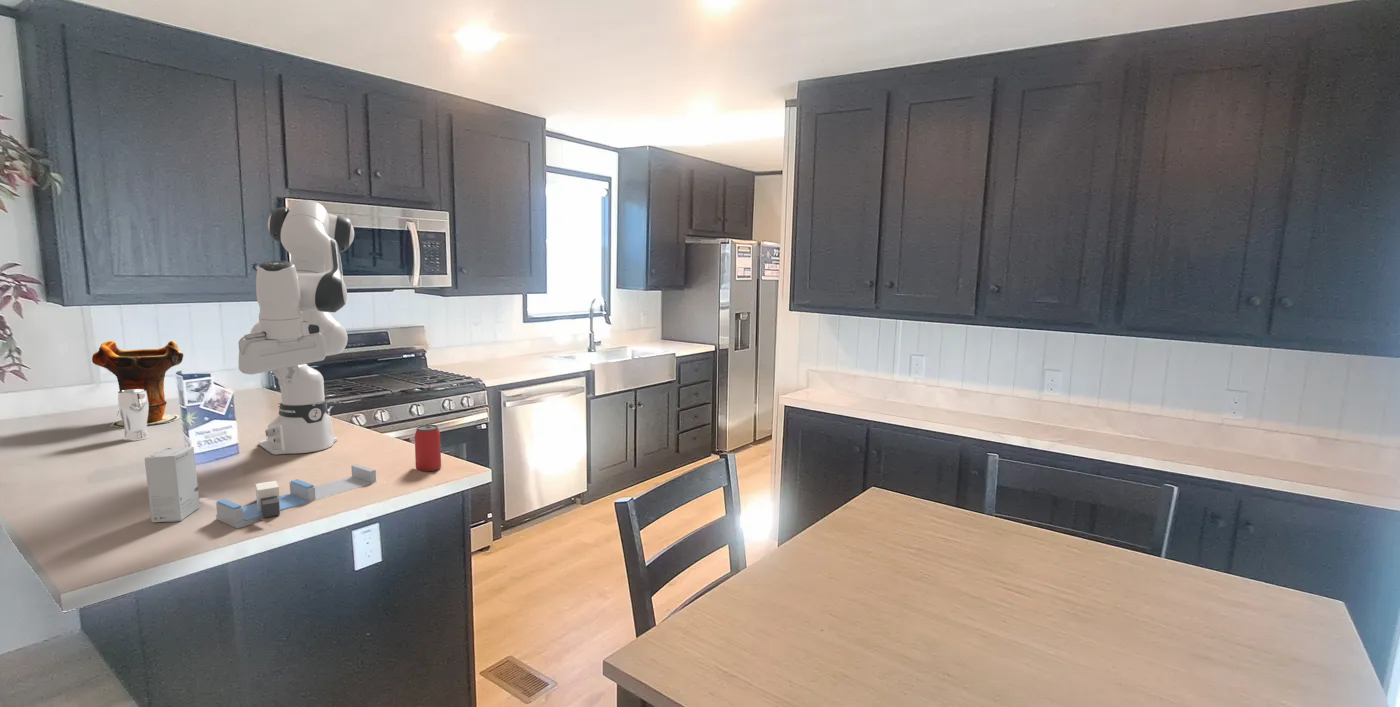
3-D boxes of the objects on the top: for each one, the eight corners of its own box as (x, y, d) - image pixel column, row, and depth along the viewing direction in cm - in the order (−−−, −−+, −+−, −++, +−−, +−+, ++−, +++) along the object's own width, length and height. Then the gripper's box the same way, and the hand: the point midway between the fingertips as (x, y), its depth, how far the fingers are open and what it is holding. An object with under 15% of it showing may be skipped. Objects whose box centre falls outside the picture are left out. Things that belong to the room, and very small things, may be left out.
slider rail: (216, 519, 143) (214, 499, 142) (356, 478, 171) (355, 462, 170) (237, 528, 138) (235, 508, 138) (377, 485, 166) (376, 468, 166)
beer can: (445, 465, 183) (444, 424, 181) (433, 473, 177) (432, 430, 175) (423, 464, 184) (422, 423, 182) (411, 471, 177) (409, 429, 175)
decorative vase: (198, 419, 220) (185, 339, 215) (107, 435, 204) (91, 348, 199) (187, 409, 234) (175, 333, 229) (101, 422, 218) (86, 341, 213)
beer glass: (155, 437, 200) (151, 390, 198) (126, 442, 194) (121, 394, 192) (146, 434, 204) (142, 387, 202) (118, 438, 198) (113, 391, 196)
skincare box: (181, 522, 141) (175, 456, 139) (149, 523, 139) (142, 457, 137) (201, 507, 149) (195, 445, 147) (171, 508, 148) (165, 446, 145)
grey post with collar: (255, 498, 152) (253, 478, 151) (275, 495, 154) (274, 475, 154) (260, 518, 141) (259, 496, 140) (282, 514, 144) (281, 492, 143)
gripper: (247, 336, 145) (253, 396, 147) (328, 325, 163) (332, 378, 166) (228, 334, 147) (234, 392, 150) (310, 322, 166) (314, 375, 168)
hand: (286, 384), depth 158 cm, fingers closed
